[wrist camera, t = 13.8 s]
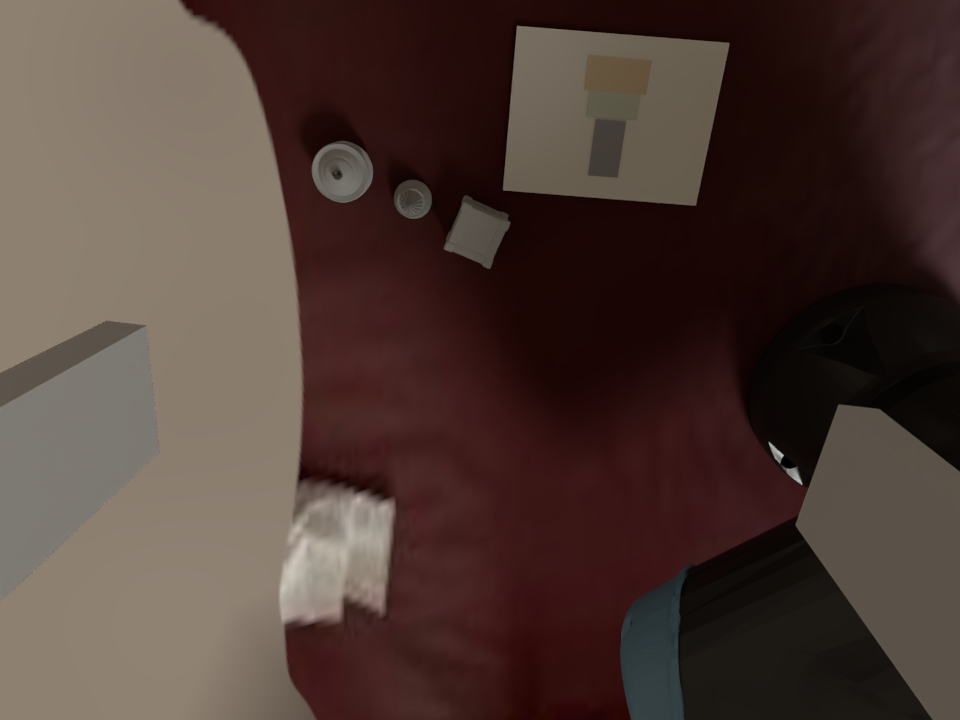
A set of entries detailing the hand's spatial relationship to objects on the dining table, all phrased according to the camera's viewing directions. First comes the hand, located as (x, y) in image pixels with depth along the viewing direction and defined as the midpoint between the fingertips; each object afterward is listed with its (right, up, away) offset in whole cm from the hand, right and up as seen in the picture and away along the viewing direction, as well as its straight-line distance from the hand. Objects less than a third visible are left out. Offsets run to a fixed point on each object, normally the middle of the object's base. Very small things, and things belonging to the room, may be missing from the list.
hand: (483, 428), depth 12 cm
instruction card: (+8, +16, +24) cm, 30 cm away
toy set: (-4, +12, +27) cm, 30 cm away
